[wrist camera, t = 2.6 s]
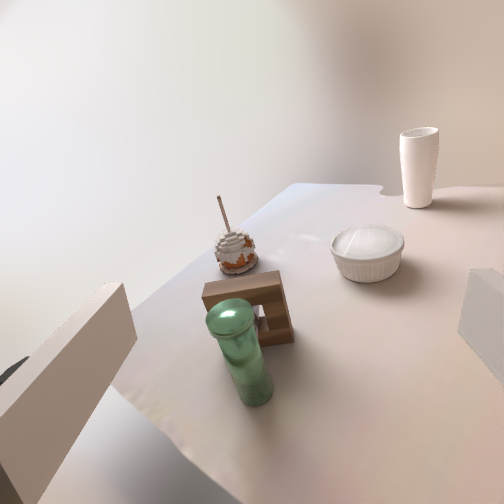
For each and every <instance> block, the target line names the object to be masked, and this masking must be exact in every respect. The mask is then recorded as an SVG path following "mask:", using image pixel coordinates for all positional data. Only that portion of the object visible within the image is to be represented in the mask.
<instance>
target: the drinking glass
mask: <svg viewBox="0 0 504 504" xmlns="http://www.w3.org/2000/svg"><path fill="white" fill-rule="evenodd" d="M438 149H439V129H437V128H434V127H424V128H416V129H411V130H408V131H405V132H403V133H402V134H401V135H400V161H401V162H400V163H401V172H402V182H403V191H404V204H405V205H406V206H407V207H410V208H423V207H426V206H428V205H430V204H431V202H432V193H433V185H434V178H435V171H436V165H437V158H438Z"/></svg>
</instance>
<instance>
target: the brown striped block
mask: <svg viewBox="0 0 504 504" xmlns="http://www.w3.org/2000/svg"><path fill="white" fill-rule="evenodd" d="M233 298H239V299H244V300H246V301H248V302H249V303H250V305H251V306H256V305H262V306H263V310H264V313H265V316H263V317H259V328H258V342H259V345H260V347H263V346H270V345H277V344H285V343H292V342H294V340H293V329H292V323H291V319H290V315H289V311H288V306H287V302H286V298H285V294H284V289H283V285H282V281H281V277H280V273H279V270H277V271H271V272H266V273H260V274H254V275H248V276H243V277H237V278H231V279H225V280H220V281H214V282H208V283H205V286H204V290H203V293H202V300H203V302H204V305H205V307H206V310H207V312H209V311H210V310H211V309H212V308H213V307H214V306H215V305H216V304H218V303H220V302H222V301H225V300H228V299H233Z"/></svg>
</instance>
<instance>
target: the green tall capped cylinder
mask: <svg viewBox="0 0 504 504" xmlns="http://www.w3.org/2000/svg"><path fill="white" fill-rule="evenodd" d="M206 324H207V326H208V329H209V331H210V334H211V335H212V336H213V337H214V338H216V339H217V340H218V343H219V345H220V348H221V350H222V353H223V355H224V358H225V360H226V363H227V365H228V368H229V370H230V373H231V375H232V378H233V380H234V383H235V385H236V388H237V390H238V392H239V395H240V397H241V400H242V401H243V402H244V403H245V404H247V405H250V406H258V405H261V404H263V403H265V402H266V401H267V400H268V399H269V398H270V396H271V394H272V390H273V387H272V383H271V380H270V377H269V374H268V371H267V368H266V364H265V361H264V358H263V355H262V352H261V349H260V345H259V342H258V328H259V305H256V306H251V305H250V303H249V302H248V301H246V300H244V299H239V298H233V299H228V300H225V301H222V302H220V303H218V304H216V305H215V306H214V307H213V308H212V309H211V310H210V311H209V312H208V314H207V316H206Z"/></svg>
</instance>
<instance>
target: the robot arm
mask: <svg viewBox="0 0 504 504" xmlns="http://www.w3.org/2000/svg"><path fill="white" fill-rule="evenodd" d="M458 333H459V334H460V336H461V337H462V338H463V339H464V340H465V341H466V343H467V344H468V345H469V346H470V347H471V349H472V350H473V351H474V352H475V353H476V354H477V356H478V357H479V358H480V359H481V360H482V362H483V363H484V364H485V365H486V366H487V367H488V369H489V370H490V371H491V372H492V373H493V375H494V376H495V377H496V378H497V379H498V380H499V382H500V383H501V384H502V385H503V386H504V276H503V275H502V274H500V273H499V272H497V271H496V270H494V269H493V268H491V269H470V274H469V279H468V284H467V288H466V293H465V298H464V303H463V308H462V312H461V317H460V322H459V327H458ZM137 339H138V338H137V335H136V331H135V327H134V323H133V319H132V316H131V312H130V308H129V304H128V300H127V296H126V293H125V289H124V285H123V283H104V284H103V285H102V286H101V287H100V288H99V289H98V290H97V291H96V292H95V293H94V294H93V295H92V296H91V297H90V298H89V299H88V300H87V301H86V302H85V303H84V304H83V305H82V306H81V307H80V308H79V309H78V310H77V311H76V312H75V313H74V314H73V315H72V316H71V317H70V318H69V319H68V320H67V321H66V322H65V323H64V324H63V325H62V326H61V327H60V328H59V329H58V330H57V331H56V332H55V333H54V334H53V335H52V336H51V337H50V338H49V339H48V340H46V341H45V342H44V344H42V346H40V348H38V349H37V350H36V352H34V353H33V354H32V355H31V356H30V357H25V358H24V359H22V360H21V361H19V362H17V363H16V364H14V365H13V366H11V367H10V368H8V369H7V370H6V371H5V372H4V373H3V374H2V375H1V376H0V504H37V503H38V501H39V499H40V498H41V496H42V494H43V493H44V491H45V489H46V488H47V486H48V485H49V483H50V481H51V480H52V478H53V476H54V475H55V473H56V472H57V470H58V468H59V466H60V465H61V463H62V462H63V460H64V458H65V457H66V455H67V454H68V452H69V450H70V449H71V447H72V445H73V444H74V442H75V440H76V439H77V437H78V436H79V434H80V432H81V431H82V429H83V427H84V426H85V424H86V422H87V421H88V419H89V418H90V416H91V414H92V413H93V411H94V409H95V408H96V406H97V404H98V403H99V401H100V400H101V398H102V396H103V395H104V393H105V391H106V390H107V388H108V386H109V385H110V383H111V382H112V380H113V378H114V377H115V375H116V373H117V372H118V370H119V369H120V367H121V365H122V364H123V362H124V360H125V359H126V357H127V355H128V354H129V352H130V351H131V349H132V347H133V346H134V344H135V342H136V341H137Z"/></svg>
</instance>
